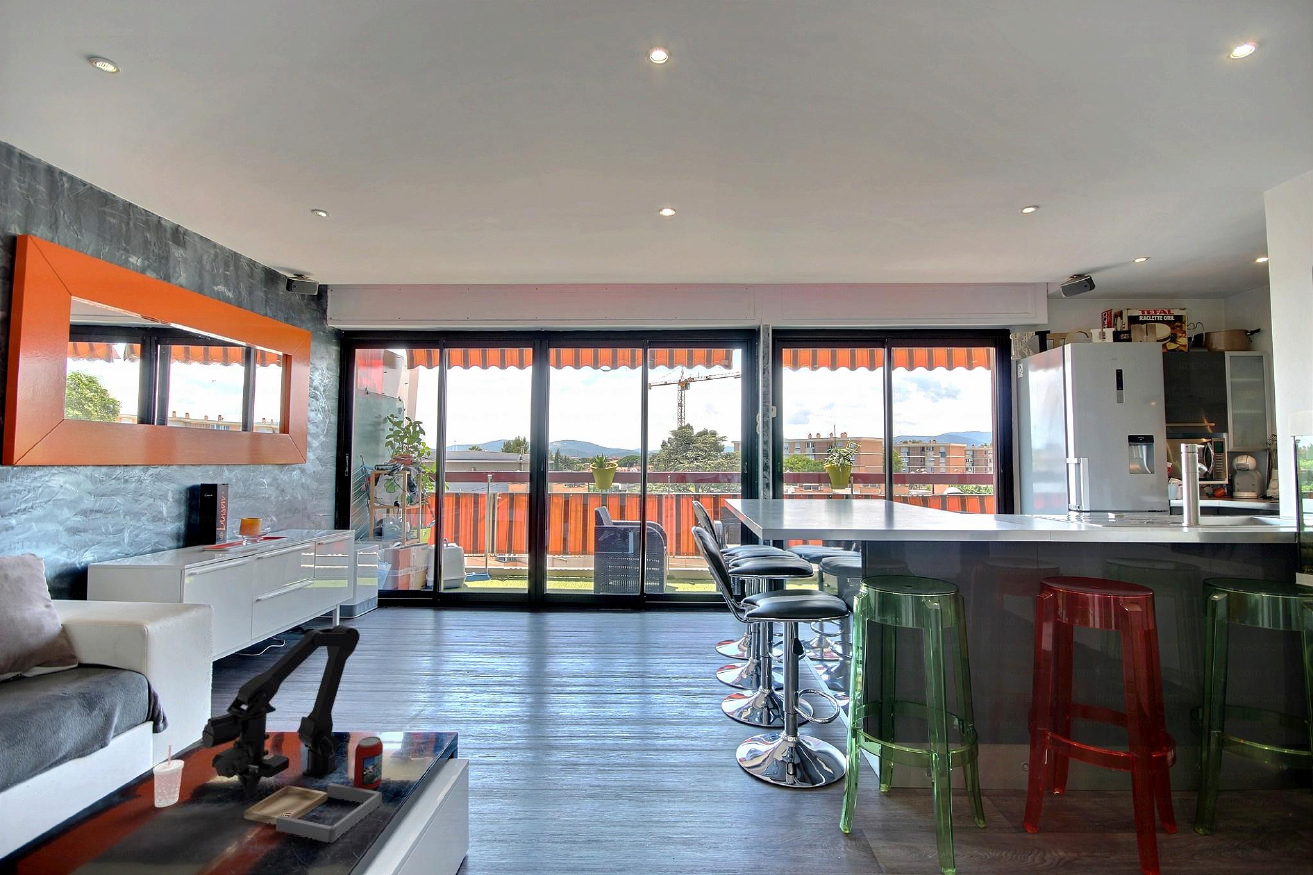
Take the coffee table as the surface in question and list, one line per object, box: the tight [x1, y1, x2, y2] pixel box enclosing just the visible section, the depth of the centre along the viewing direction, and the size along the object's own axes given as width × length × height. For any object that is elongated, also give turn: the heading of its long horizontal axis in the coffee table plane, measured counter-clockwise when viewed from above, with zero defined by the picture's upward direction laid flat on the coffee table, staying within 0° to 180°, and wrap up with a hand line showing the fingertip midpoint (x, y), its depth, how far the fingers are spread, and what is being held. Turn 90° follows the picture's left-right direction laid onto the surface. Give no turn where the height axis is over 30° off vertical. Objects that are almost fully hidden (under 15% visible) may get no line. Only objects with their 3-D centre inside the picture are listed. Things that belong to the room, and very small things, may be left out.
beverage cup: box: [152, 744, 185, 808], centre depth 154 cm, size 6×6×14 cm
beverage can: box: [353, 736, 384, 791], centre depth 164 cm, size 7×7×12 cm
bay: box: [275, 782, 383, 844], centre depth 150 cm, size 16×17×3 cm
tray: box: [243, 784, 329, 825], centre depth 153 cm, size 13×13×2 cm
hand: (249, 796), depth 156 cm, fingers closed
